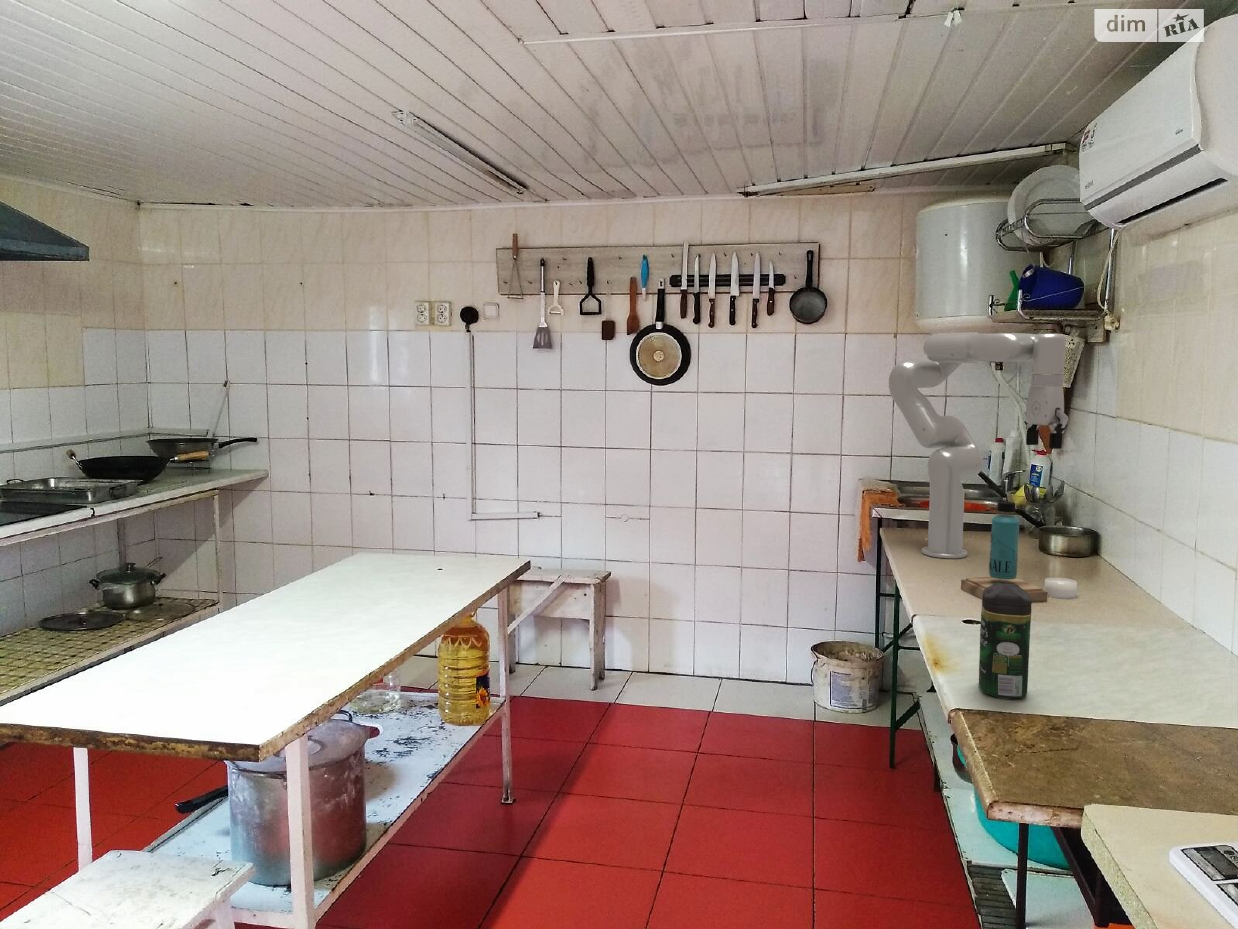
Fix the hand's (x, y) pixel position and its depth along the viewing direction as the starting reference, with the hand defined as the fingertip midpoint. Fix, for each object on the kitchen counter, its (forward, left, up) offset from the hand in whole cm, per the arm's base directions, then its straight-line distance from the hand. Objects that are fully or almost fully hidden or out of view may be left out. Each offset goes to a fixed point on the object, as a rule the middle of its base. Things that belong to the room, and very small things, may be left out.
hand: (1043, 446), depth 232 cm
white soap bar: (+20, -7, -34) cm, 40 cm away
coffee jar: (+75, -57, -34) cm, 100 cm away
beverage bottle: (+17, -21, -32) cm, 42 cm away
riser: (+18, -21, -34) cm, 44 cm away
